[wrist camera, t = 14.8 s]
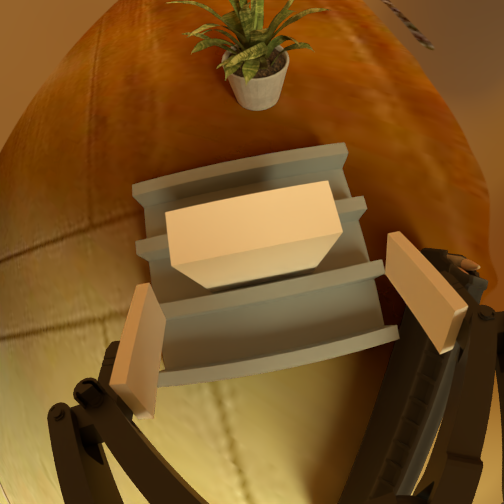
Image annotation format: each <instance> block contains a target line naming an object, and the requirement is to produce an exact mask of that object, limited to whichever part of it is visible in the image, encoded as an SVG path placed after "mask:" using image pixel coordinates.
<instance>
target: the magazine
mask: <svg viewBox="0 0 504 504" xmlns="http://www.w3.org/2000/svg"><path fill="white" fill-rule="evenodd" d="M420 253H421V254H422V255H423V256H424V257H425V258H426V259H427V260H428V261H429V262H430V263H431V264H432V265H433V266H434V267H435V268H436V270H437V271H438V272H442V271H446V272H448V273H450V274H451V275H453V276H454V277H455V278H456V279H457V280H458V281H459V283H460V284H461V285H462V286H463V288H465V289H466V290H467V291H468V292H469V294H470V295H471V296H472V297H473V298H474V299H475V300H476V302H477V303H478V304H480V300H481V296H482V293H483V291H484V290H486V289H487V285H488V280H485V279H482V278H480V277H479V273H478V272H476V270H477V269H480V266H479V265H478V264H476V263H475V262H473V261H471V260H468V259H467V258H465V257H464V256H463V255H457V254H449V253H448V251H447V250H442V249H432V248H423V249H422V250H421V252H420ZM398 333H399V338H400V339H398V340H396V342H395V345H394V348H393V352H392V355H391V358H390V361H389V364H388V367H387V370H386V373H385V376H384V379H383V383H382V386H381V389H380V392H379V395H378V398H377V400H376V404H375V407H374V410H373V412H372V415H371V418H370V421H369V424H368V427H367V430H366V432H365V435H364V438H363V441H362V443H361V446H360V449H359V452H358V454H357V457H356V460H355V462H354V465H353V468H352V470H351V473H350V475H349V478H348V481H347V483H346V486H345V488H344V491H343V493H342V496H341V498H340V500H339V503H338V504H363V503H365V502H366V501H369V500H372V499H375V498H377V497H380V496H383V495H386V494H389V493H391V492H394V494H395V495H411V493H412V491H413V489H414V486H415V484H416V482H417V480H418V477H419V475H420V473H421V471H422V468H423V466H424V463H425V461H426V458H427V456H428V453H429V451H430V448H431V446H432V443H433V441H434V438H435V436H436V433H437V431H438V428H439V426H440V423H441V421H442V418H443V415H444V412H445V408H446V404H447V400H448V396H449V392H450V388H451V383H452V379H453V374H454V369H455V364H456V361H454V359H455V356H456V354H457V352H458V349H459V347H460V345H459V344H458V342H457V341H456V342H455V344H454V347H453V349H452V350H450V351H447V352H445V353H442V354H439V352H438V350H437V349H436V347H435V346H434V344H433V343H432V341H431V340H430V338H429V336H428V335H427V333H426V332H425V330H424V329H423V327H422V326H421V324H420V323H419V321H418V320H417V318H416V317H415V316H414V314H413V313H412V311H411V310H410V308H409V307H408V305H407V304H406V308H405V311H404V315H403V318H402V322H401V325H400V329H399V332H398Z"/></svg>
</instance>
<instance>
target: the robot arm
mask: <svg viewBox="0 0 504 504" xmlns="http://www.w3.org/2000/svg"><path fill="white" fill-rule="evenodd" d="M385 275H386V276H387V277H388V279H389V280H390V282H391V283H392V284H393V286H394V287H395V288H396V290H397V291H398V293H399V294H400V295H401V297H402V298H403V300H404V301H405V303H406V304H407V305H408V307H409V308H410V310H411V311H412V313H413V314H414V316H415V317H416V318H417V320H418V321H419V323H420V324H421V326H422V327H423V329H424V330H425V332H426V333H427V335H428V336H429V338H430V340H431V341H432V343H433V344H434V346H435V347H436V349H437V350H438V352H439V354H442V353H445V352H447V351H450V350H452V349H453V347H454V344H455V342H456V341H457V342H458V344H459V345H460V347H459V349H458V352H457V354H456V356H455V359H454V361H456V364H455V369H454V374H453V379H452V383H451V388H450V392H449V396H448V400H447V404H446V408H445V412H444V415H443V419H442V422H441V426H440V429H439V432H438V435H437V439H436V442H435V445H434V448H433V451H432V453H431V456H430V459H429V462H428V464H427V467H426V470H425V472H424V475H423V477H422V478H421V480H420V482H419V483H418V485H417V487H416V489H415V491H414V493H413V495H412V496H411V495H395V494H394V492H391V493H389V494H386V495H383V496H380V497H377V498H375V499H372V500H369V501H366V502H365V503H363V504H472V502H473V499H474V496H475V493H476V489H477V486H478V483H479V480H480V476H481V472H482V469H483V462H482V461H481V459H480V457H481V452H482V448H483V444H484V439H485V434H486V430H487V424H488V419H489V413H490V407H491V401H492V393H493V385H494V376H495V370H496V377H497V384H498V392H499V401H500V412H501V426H502V494H503V502H502V504H504V311H502V312H495V311H494V310H493V309H492V308H491V307H489V306H486V305H479V304H478V303H477V302H476V300H475V299H474V298H473V297H472V296H471V295H470V294H469V292H468V291H467V290H466V289H465V288H463V286H462V285H461V284H460V283H459V281H458V280H457V279H456V278H455V277H454V276H453V275H451V274H450V273H448V272H446V271H442V272H438V271H437V270H436V268H435V267H434V266H433V265H432V264H431V263H430V262H429V261H428V260H427V259H426V258H425V257H424V256H423V255H422V254H421V253H420V252H419V250H418V249H417V248H416V247H415V246H414V245H413V244H412V243H411V242H410V241H409V240H408V239H407V238H406V237H405V236H404V235H403V234H402V233H401V232H400V231H397V232H392V233H388V236H387V253H386V267H385ZM165 325H166V318H165V316H164V314H163V312H162V310H161V307H160V305H159V303H158V301H157V298H156V296H155V294H154V292H153V289H152V287H151V285H150V282H149V283H144V284H139V285H137V286H136V289H135V292H134V295H133V299H132V302H131V305H130V308H129V312H128V315H127V319H126V322H125V325H124V329H123V333H122V336H121V340H120V341H114V342H111V344H110V345H109V347H108V348H107V349H106V352H105V356H104V360H103V363H102V367H101V370H100V373H99V377H98V381H97V380H96V379H94V378H85V379H83V380H81V381H80V382H79V383H78V384H77V385H76V387H75V389H74V392H73V395H74V399H75V400H76V401H77V402H78V403H79V404H80V405H77V406H74V407H71V408H70V407H69V406H68V405H67V404H65V403H62V402H60V403H57V404H55V405H53V406H52V407H51V409H50V410H49V412H48V417H47V419H48V427H49V434H50V440H51V446H52V451H53V457H54V462H55V466H56V471H57V475H58V480H59V484H60V488H61V492H62V496H63V499H64V503H65V504H124V503H123V501H122V498H121V496H120V493H119V491H118V488H117V486H116V483H115V481H114V478H113V475H112V472H111V470H110V467H109V464H108V461H107V458H106V455H105V452H104V449H103V446H102V443H103V442H105V444H106V445H107V447H108V448H109V450H110V451H111V453H112V454H113V456H114V457H115V458H116V460H117V461H118V463H119V464H120V466H121V467H122V468H123V470H124V471H125V472H126V474H127V475H128V477H129V478H130V479H131V481H132V482H133V483H134V484H135V486H136V487H137V488H138V490H139V491H140V492H141V493H142V495H143V496H144V497H145V498H146V499H147V501H148V502H149V503H150V504H209V503H208V502H207V501H206V500H205V499H203V498H202V497H201V496H200V495H199V494H198V493H197V492H196V491H195V490H194V489H193V488H192V487H191V486H190V485H189V484H188V483H187V482H186V481H185V480H184V479H183V478H182V477H181V476H180V475H179V474H178V473H177V472H176V471H175V470H174V468H173V467H172V466H171V465H170V464H169V463H168V462H167V461H166V460H165V459H164V458H163V456H162V455H161V454H160V453H159V452H158V451H157V450H156V448H155V447H154V446H153V445H152V444H151V443H150V441H149V440H148V439H147V438H146V437H145V435H144V434H143V433H142V432H141V431H140V429H139V428H138V427H137V426H136V424H135V423H134V422H133V421H132V417H133V414H134V415H135V416H136V417H137V418H138V419H154V412H155V402H156V393H157V384H158V376H159V368H160V360H161V352H162V345H163V338H164V331H165Z"/></svg>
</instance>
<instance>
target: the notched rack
mask: <svg viewBox="0 0 504 504" xmlns="http://www.w3.org/2000/svg"><path fill="white" fill-rule="evenodd" d="M347 155H348V151H347V148H346V145H345V143H336V144H328V145H321V146H314V147H307V148H300V149H294V150H288V151H282V152H276V153H270V154H264V155H259V156H253V157H248V158H243V159H238V160H233V161H228V162H223V163H218V164H214V165H209V166H205V167H200V168H196V169H191V170H187V171H183V172H179V173H175V174H171V175H167V176H163V177H159V178H155V179H151V180H147V181H144V182H140V183H136V184H133V185H132V196H133V197H134V198H135V199H136V200H137V201H138V202H139V203H140V204H141V205H142V206H143V207H144V214H145V226H146V238H147V239H143V240H138V241H135V243H136V254H137V255H138V256H140V257H142V258H143V259H145V260H147V261H148V262H149V267H150V275H151V283H152V289H153V292H154V294H155V296H156V298H157V301H158V303H159V305H160V307H161V310H162V312H163V314H164V316H165V318H166V325H165V331H164V338H163V345H162V354H163V360H164V365H165V370H162V371H159V376H158V384H157V388H158V387H169V386H178V385H187V384H196V383H204V382H211V381H218V380H225V379H232V378H238V377H244V376H250V375H255V374H261V373H266V372H272V371H277V370H282V369H287V368H291V367H296V366H301V365H305V364H310V363H314V362H318V361H322V360H326V359H330V358H334V357H338V356H342V355H346V354H350V353H354V352H357V351H361V350H364V349H368V348H371V347H375V346H378V345H381V344H385V343H388V342H391V341H394V340H398V339H400V338H399V333H398V327H397V325H384V321H383V316H382V311H381V307H380V302H379V298H378V293H377V289H376V284H375V280H374V279H375V278H377V277H379V276H381V275H383V274H385V269H384V265H383V261H382V259H381V260H376V261H372V262H370V260H369V256H368V253H367V249H366V245H365V241H364V238H363V234H362V231H361V227H360V224H359V219H360V217H361V216H362V215H363V213H364V212H365V211H366V210H367V206H366V203H365V200H364V196H359V197H353V198H352V197H351V194H350V191H349V188H348V185H347V182H346V179H345V176H344V173H343V170H342V167H343V165H344V163H345V160H346V158H347ZM327 180H328V182H329V185H330V189H331V192H332V195H333V199H334V202H335V205H336V209H337V212H338V216H339V219H340V223H341V227H342V230H343V233H342V234H341V235H340V237H339V238H338V239H337V241H336V242H335V243H334V245H333V246H332V247H331V249H330V250H329V251H328V253H327V254H326V255H325V257H324V258H323V259H322V260H321V262H320V263H319V264H318V266H317V267H316V268H315V270H314V271H313V272H310V273H306V274H301V275H296V276H291V277H286V278H281V279H276V280H271V281H266V282H261V283H256V284H251V285H246V286H241V287H236V288H230V289H225V290H220V291H215V292H211V291H210V290H208V289H207V288H205V287H203V286H202V285H200V284H199V283H197V282H195V281H194V280H192V279H191V278H189V277H188V276H186V275H185V274H183V273H181V272H180V271H178V270H177V269H175V268H174V267H172V266H171V260H170V252H169V243H168V235H167V225H166V216H165V212H169V211H173V210H178V209H182V208H187V207H191V206H196V205H200V204H205V203H209V202H214V201H219V200H224V199H229V198H233V197H238V196H243V195H249V194H254V193H259V192H264V191H269V190H275V189H280V188H286V187H291V186H297V185H303V184H309V183H315V182H321V181H327Z"/></svg>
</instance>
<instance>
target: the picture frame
mask: <svg viewBox="0 0 504 504" xmlns="http://www.w3.org/2000/svg"><path fill="white" fill-rule="evenodd" d="M165 216H166V225H167V235H168V243H169V252H170V260H171V266H172V267H174V268H175V269H177V270H178V271H180V272H181V273H183V274H185V275H186V276H188V277H189V278H191V279H192V280H194V281H195V282H197V283H199V284H200V285H202V286H203V287H205V288H207V289H208V290H210V291H211V292H215V291H220V290H225V289H230V288H236V287H241V286H246V285H251V284H256V283H261V282H266V281H271V280H276V279H281V278H286V277H291V276H296V275H301V274H306V273H310V272H313V271H314V270H315V268H316V267H317V266H318V264H319V263H320V262H321V260H322V259H323V258H324V257H325V255H326V254H327V253H328V251H329V250H330V249H331V247H332V246H333V245H334V243H335V242H336V241H337V239H338V238H339V237H340V235H341V234H342V233H343V230H342V227H341V223H340V219H339V216H338V212H337V209H336V205H335V202H334V199H333V195H332V192H331V189H330V185H329V182H328V180H327V181H321V182H315V183H309V184H303V185H297V186H291V187H286V188H280V189H275V190H269V191H264V192H259V193H254V194H249V195H243V196H238V197H233V198H229V199H224V200H219V201H214V202H209V203H205V204H200V205H196V206H191V207H187V208H182V209H178V210H173V211H169V212H165Z"/></svg>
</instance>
